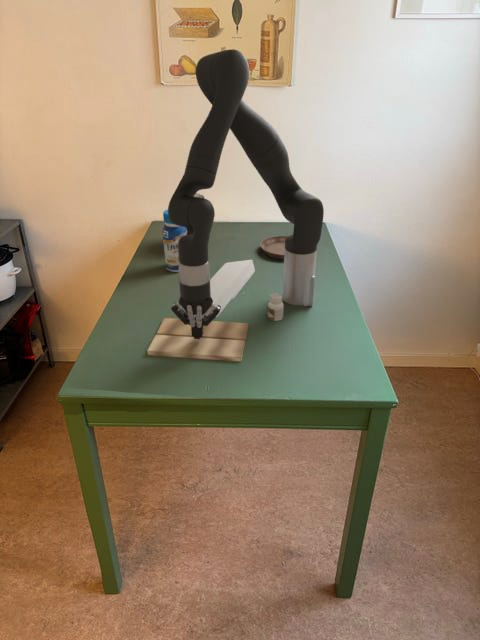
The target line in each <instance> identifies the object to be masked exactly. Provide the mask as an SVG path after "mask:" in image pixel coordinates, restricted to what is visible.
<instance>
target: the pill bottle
mask: <svg viewBox="0 0 480 640" xmlns="http://www.w3.org/2000/svg"><path fill="white" fill-rule="evenodd" d="M282 298H283V294H281V293H277V292H275V293H271V294H270V295H269V301H268V303H267V318H268V319H269V320H270V321H275V322H277V321H280V320H282V319H283V318H284V303H283V300H282Z"/></svg>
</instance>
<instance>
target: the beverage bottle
mask: <svg viewBox="0 0 480 640" xmlns="http://www.w3.org/2000/svg"><path fill="white" fill-rule="evenodd" d="M162 216H163V217H162V218H163V222H164V225H163V228H162V235H163V236H162V242H163V251H164V252H163V254H164V261H165V263H164V265H165V268H166V270H167V271H169V272H174V273H179V254H178V241H179V239H180V238H181V237H182V236H184V235H186V234H187V229H186V227H182V226H177V225H175V224H173V223H172V222H171V221H170V219H169V216H168V209H165V210H164V211H163V213H162Z"/></svg>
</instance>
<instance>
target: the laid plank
mask: <svg viewBox="0 0 480 640" xmlns="http://www.w3.org/2000/svg"><path fill="white" fill-rule="evenodd" d="M249 325H250V323H248V322H234V321H218V320H212V322H211V323H210V324H209V325H208V326H203V335H202V337H200V338H213V339H228V340H243V341H245V342H246V340H247V336H248V330H249V327H250V326H249ZM156 335H168V336H183V337H192V332H191V326H190V325H188V324H187V325H185V324H184V323H183V322H182V321H181V320H180V319H179V318H170V317H169V318H167V317H164V318H163V319H162V322H161V324H160V326H159V328H158V330H157V331H156Z"/></svg>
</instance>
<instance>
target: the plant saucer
mask: <svg viewBox="0 0 480 640" xmlns="http://www.w3.org/2000/svg"><path fill="white" fill-rule="evenodd" d="M288 236H289V235H287V236H286V235H277V236H270V237H267V238H265V239H263V240H261V242H260V244H259V245H260V248H261V249H262V251H263V252H264V253H265V255H267V256H269V257H270V258H273V259H277V260H284V253H285V240H286V238H287V237H288Z"/></svg>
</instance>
